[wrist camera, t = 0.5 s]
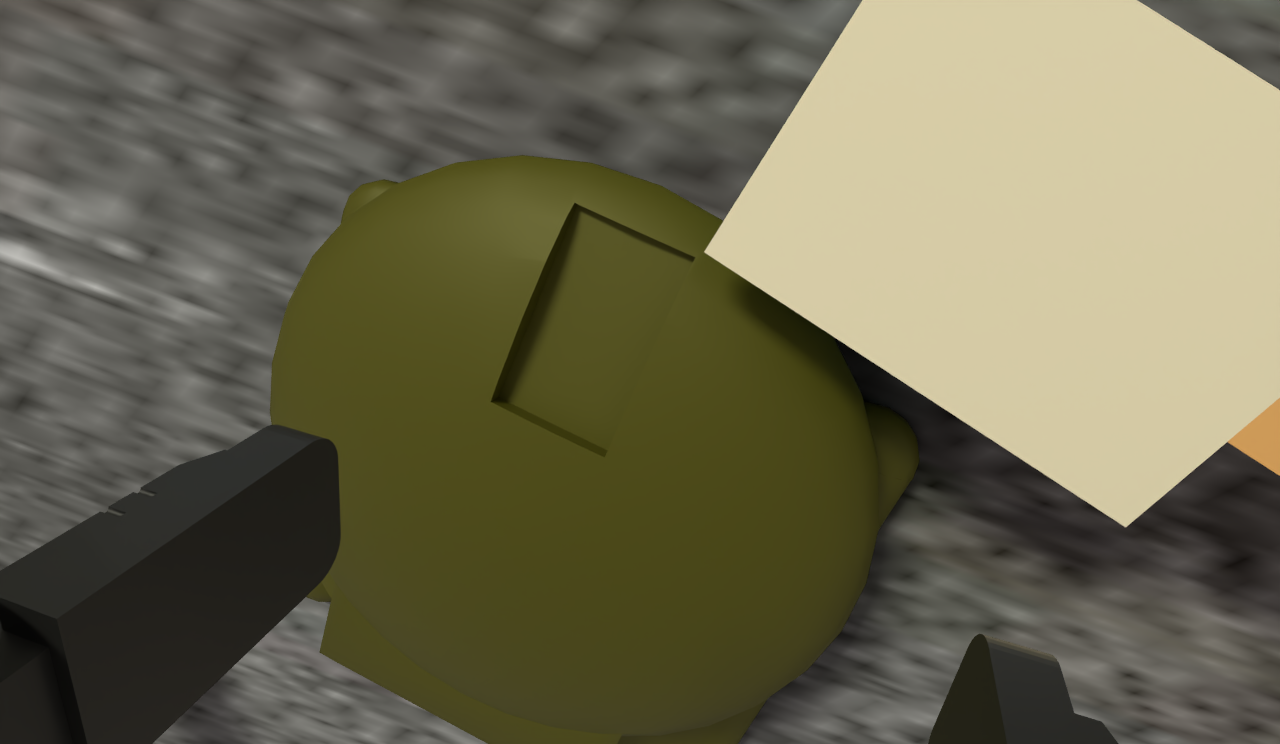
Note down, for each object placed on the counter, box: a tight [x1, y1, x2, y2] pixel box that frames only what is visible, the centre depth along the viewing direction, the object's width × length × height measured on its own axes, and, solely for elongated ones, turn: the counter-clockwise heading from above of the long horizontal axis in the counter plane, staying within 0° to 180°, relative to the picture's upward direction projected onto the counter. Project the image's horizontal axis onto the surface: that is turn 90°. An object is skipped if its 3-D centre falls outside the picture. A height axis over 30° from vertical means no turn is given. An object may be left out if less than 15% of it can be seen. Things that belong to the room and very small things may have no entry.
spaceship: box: [270, 155, 919, 744], centre depth 38 cm, size 35×31×10 cm
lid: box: [704, 0, 1280, 527], centre depth 23 cm, size 12×22×2 cm, turn 60°
